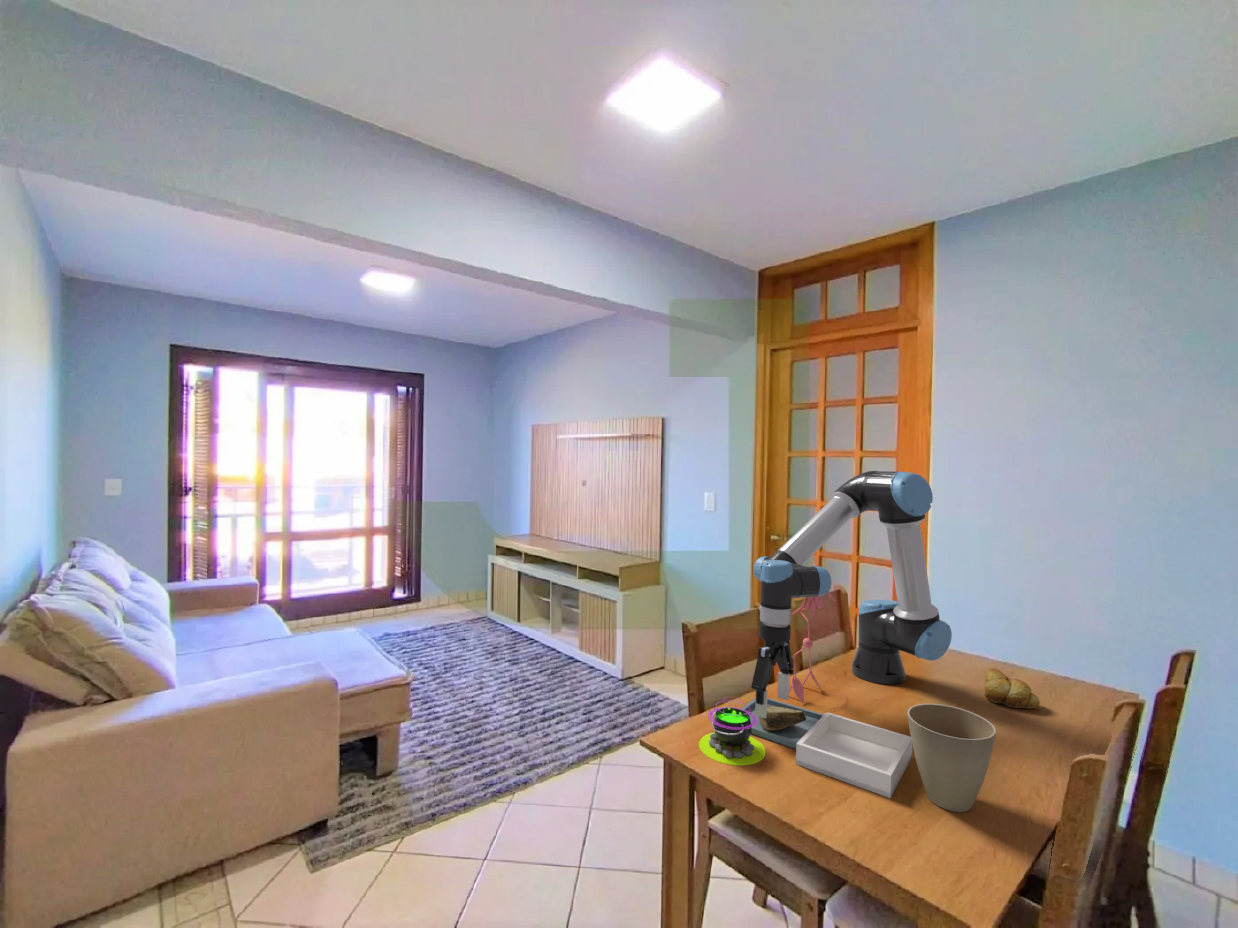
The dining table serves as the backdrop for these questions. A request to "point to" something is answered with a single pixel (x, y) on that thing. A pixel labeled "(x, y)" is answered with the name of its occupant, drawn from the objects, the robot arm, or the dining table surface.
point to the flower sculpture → (807, 642)
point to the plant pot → (951, 753)
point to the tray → (788, 734)
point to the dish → (855, 753)
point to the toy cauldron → (732, 738)
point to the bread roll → (1009, 691)
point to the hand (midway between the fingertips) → (772, 707)
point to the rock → (781, 718)
